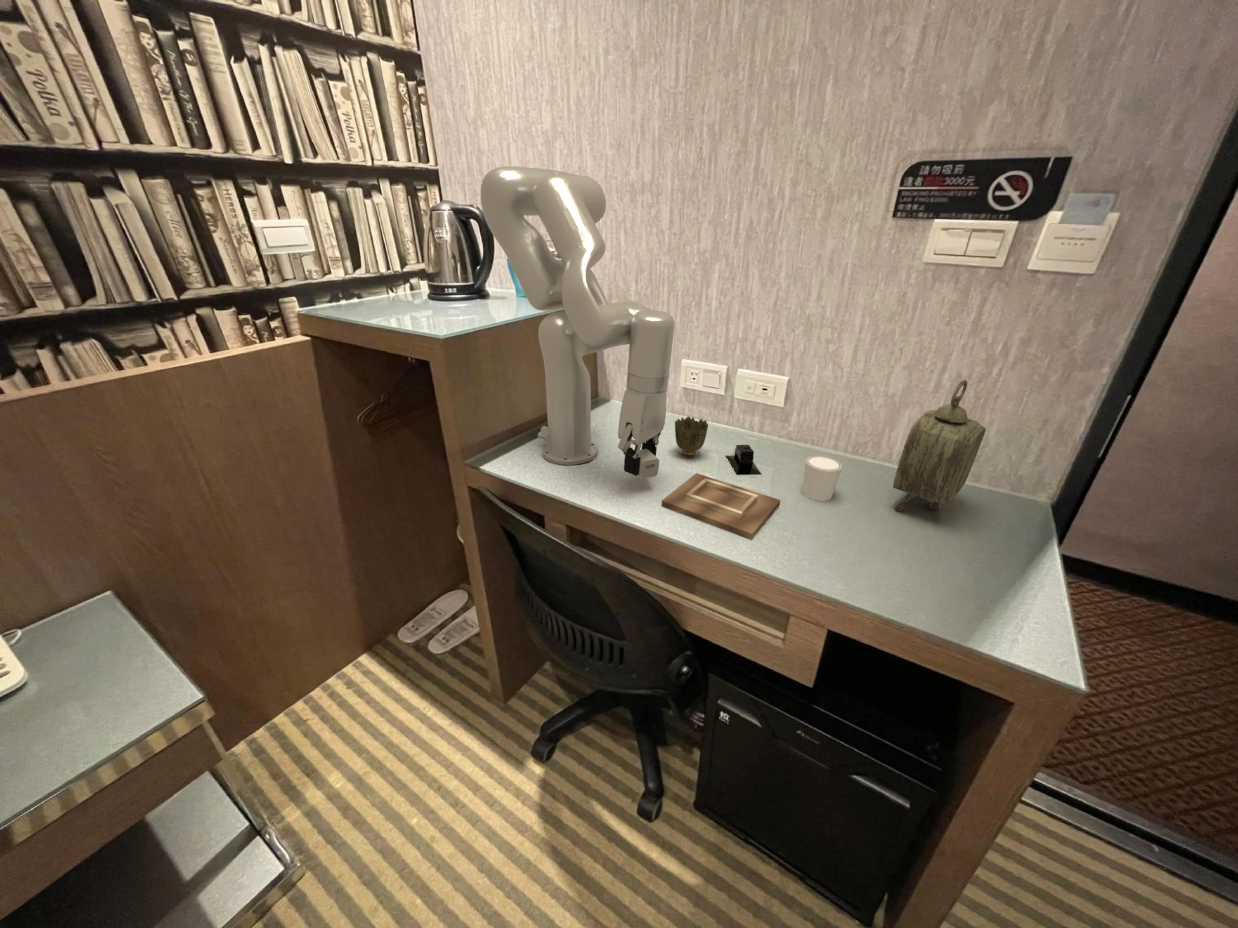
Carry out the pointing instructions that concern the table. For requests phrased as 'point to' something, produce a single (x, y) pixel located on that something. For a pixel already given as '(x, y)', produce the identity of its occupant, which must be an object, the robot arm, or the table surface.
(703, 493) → the jig board
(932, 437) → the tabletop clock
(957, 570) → the table surface
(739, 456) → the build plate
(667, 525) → the table surface
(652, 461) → the usb wall charger
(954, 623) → the table surface
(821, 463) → the beige short cylinder
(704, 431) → the cup
